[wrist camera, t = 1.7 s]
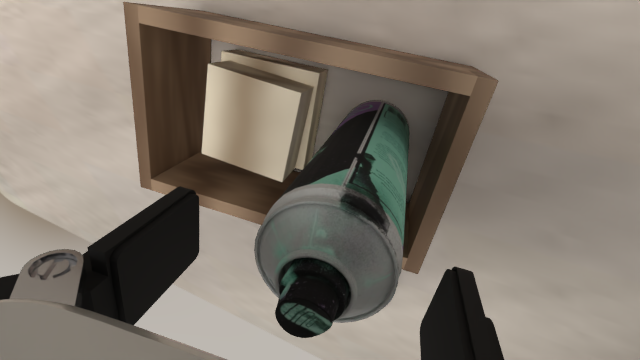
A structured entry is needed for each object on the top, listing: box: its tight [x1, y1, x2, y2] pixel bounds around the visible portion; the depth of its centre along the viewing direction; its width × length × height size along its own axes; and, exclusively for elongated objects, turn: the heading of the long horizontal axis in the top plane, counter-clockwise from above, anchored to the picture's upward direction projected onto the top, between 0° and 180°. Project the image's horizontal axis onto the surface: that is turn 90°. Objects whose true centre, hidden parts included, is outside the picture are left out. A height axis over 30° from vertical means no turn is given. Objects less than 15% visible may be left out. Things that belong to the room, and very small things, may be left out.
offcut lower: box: [221, 50, 328, 170], centre depth 27 cm, size 8×8×3 cm
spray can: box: [254, 100, 409, 338], centre depth 18 cm, size 6×6×20 cm
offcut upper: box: [202, 60, 314, 182], centre depth 25 cm, size 7×7×3 cm
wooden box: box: [123, 2, 498, 274], centre depth 24 cm, size 22×13×8 cm, turn 80°
